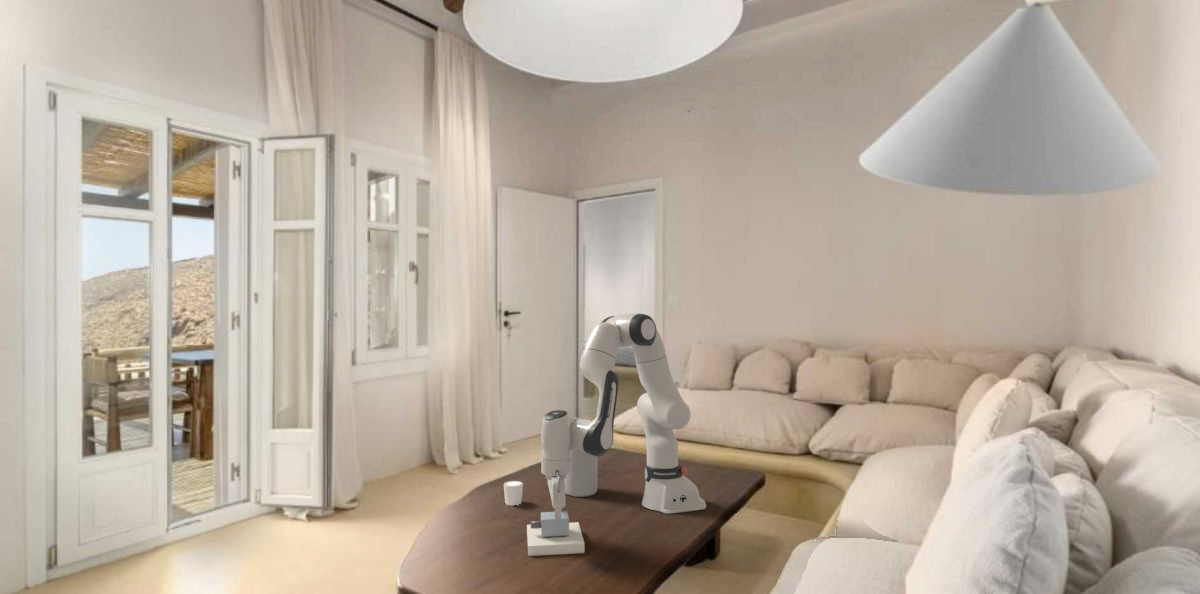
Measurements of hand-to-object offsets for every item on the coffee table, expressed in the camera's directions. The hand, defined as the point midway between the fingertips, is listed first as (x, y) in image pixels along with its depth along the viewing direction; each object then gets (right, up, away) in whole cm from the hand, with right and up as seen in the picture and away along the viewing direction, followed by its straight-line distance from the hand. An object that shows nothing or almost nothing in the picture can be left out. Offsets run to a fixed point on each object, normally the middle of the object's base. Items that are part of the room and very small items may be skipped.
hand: (556, 512), depth 180 cm
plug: (-2, -9, 0) cm, 9 cm away
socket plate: (-1, -9, 0) cm, 9 cm away
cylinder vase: (+6, -9, +46) cm, 48 cm away
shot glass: (-18, -9, +34) cm, 39 cm away
